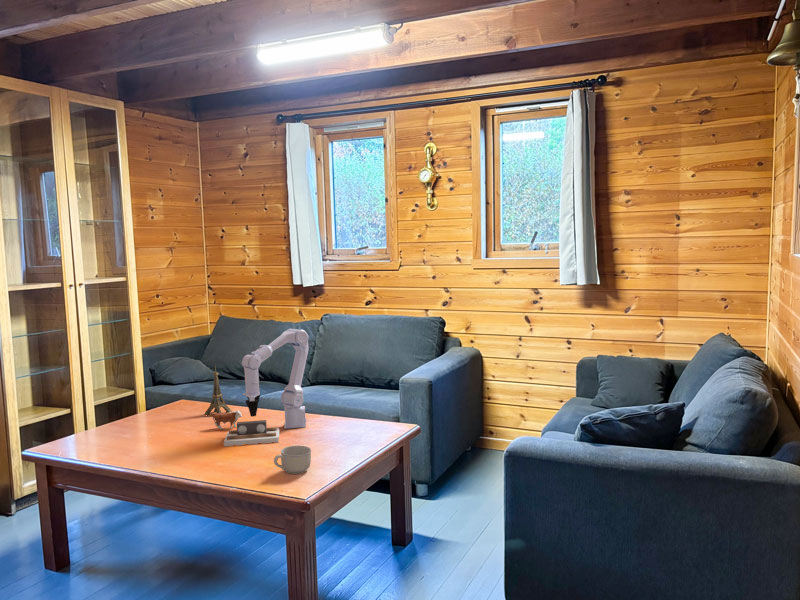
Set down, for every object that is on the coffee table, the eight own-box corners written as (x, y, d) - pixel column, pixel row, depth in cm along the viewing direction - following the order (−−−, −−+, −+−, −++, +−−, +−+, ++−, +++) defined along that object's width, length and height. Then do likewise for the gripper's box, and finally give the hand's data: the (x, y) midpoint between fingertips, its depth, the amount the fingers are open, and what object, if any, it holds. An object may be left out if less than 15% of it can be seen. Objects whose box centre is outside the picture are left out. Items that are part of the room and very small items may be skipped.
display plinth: (279, 432, 274) (279, 425, 274) (278, 442, 260) (278, 434, 260) (227, 436, 270) (227, 429, 270) (224, 446, 257) (223, 438, 256)
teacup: (306, 464, 232) (305, 443, 231) (316, 472, 222) (315, 450, 222) (269, 471, 225) (268, 449, 225) (278, 480, 216) (277, 458, 215)
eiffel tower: (216, 410, 317) (213, 362, 315) (233, 412, 313) (230, 362, 311) (202, 416, 308) (199, 365, 306) (219, 417, 304) (216, 366, 302)
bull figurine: (242, 429, 282) (241, 411, 281) (212, 429, 282) (211, 412, 281) (244, 426, 286) (243, 408, 286) (215, 427, 286) (214, 409, 286)
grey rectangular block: (266, 432, 268) (266, 419, 267) (266, 434, 265) (265, 421, 264) (238, 434, 266) (237, 422, 265) (237, 437, 263) (236, 424, 262)
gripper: (243, 380, 274) (245, 410, 275) (241, 387, 260) (243, 419, 261) (260, 378, 276) (261, 409, 277) (258, 385, 261) (260, 417, 262)
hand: (253, 413), depth 269 cm, fingers open, 7 cm apart
